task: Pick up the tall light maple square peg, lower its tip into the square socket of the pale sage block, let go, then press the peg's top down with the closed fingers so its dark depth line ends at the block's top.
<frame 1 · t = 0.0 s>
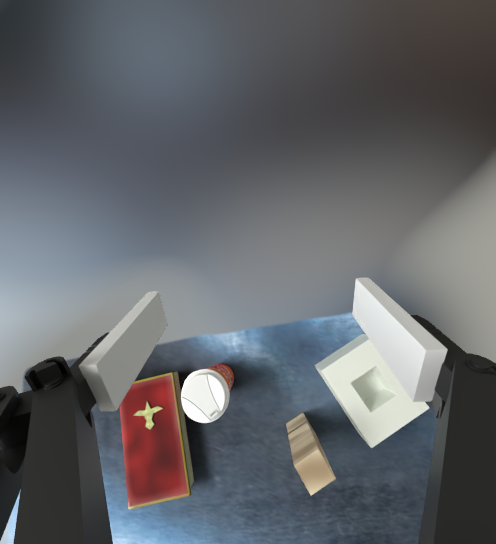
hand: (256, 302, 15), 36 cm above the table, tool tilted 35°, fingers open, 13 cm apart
hardcover book: (160, 428, 48), on the table
socket block: (360, 380, 46), on the table
paper cup: (221, 377, 48), on the table
maple peg: (300, 427, 45), on the table
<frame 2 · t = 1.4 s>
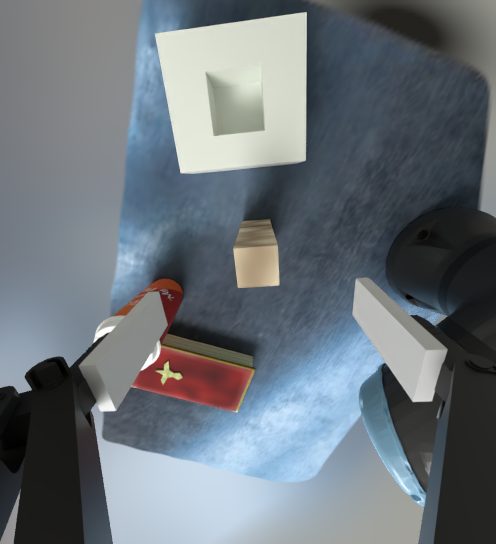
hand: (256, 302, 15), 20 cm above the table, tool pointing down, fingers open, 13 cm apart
hardcover book: (195, 362, 45), on the table
socket block: (240, 116, 29), on the table
paper cup: (167, 292, 39), on the table
maple peg: (256, 233, 34), on the table
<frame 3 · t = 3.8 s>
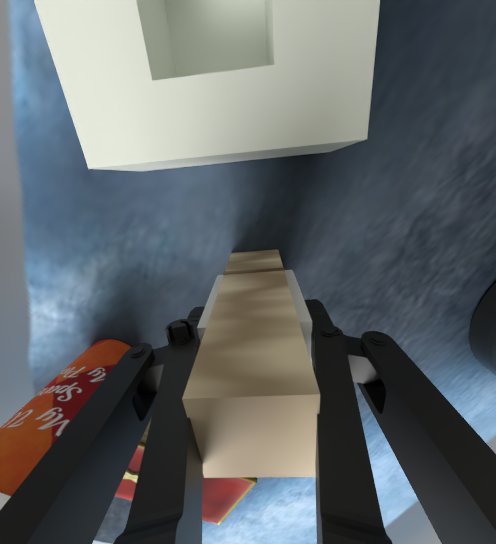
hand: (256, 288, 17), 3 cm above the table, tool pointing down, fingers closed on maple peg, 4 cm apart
hardcover book: (168, 445, 31), on the table
socket block: (222, 58, 15), on the table
paper cup: (116, 358, 25), on the table
maple peg: (256, 272, 20), on the table, touching gripper
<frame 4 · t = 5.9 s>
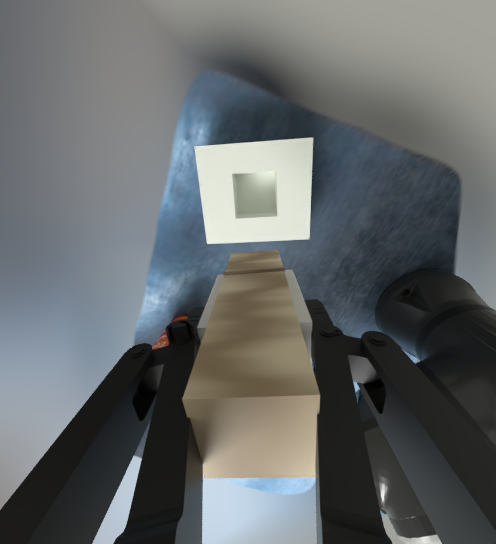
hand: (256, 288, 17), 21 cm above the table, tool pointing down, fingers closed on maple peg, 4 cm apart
socket block: (256, 193, 35), on the table
maple peg: (256, 273, 20), point 18 cm above the table, touching gripper
when the fingers open (8 cm above the table, at t = 8.3 s): maple peg drops 3 cm, resting on socket block.
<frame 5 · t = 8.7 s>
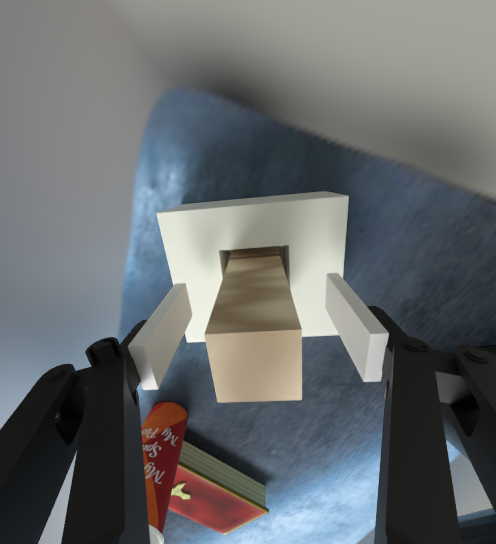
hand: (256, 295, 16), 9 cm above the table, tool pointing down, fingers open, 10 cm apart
hardcover book: (202, 470, 41), on the table
socket block: (256, 256, 24), on the table
paper cup: (169, 413, 35), on the table
maple peg: (256, 261, 23), point 1 cm above the table, touching socket block
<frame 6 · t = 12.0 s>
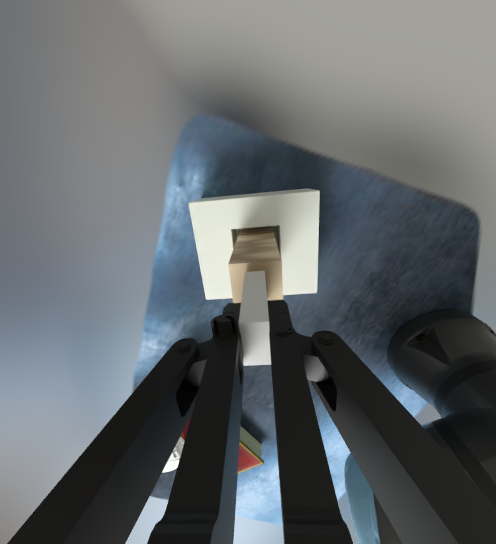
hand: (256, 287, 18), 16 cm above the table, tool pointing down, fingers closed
hardcover book: (211, 424, 49), on the table
socket block: (257, 238, 32), on the table
paper cup: (186, 370, 42), on the table
maple peg: (257, 240, 31), point 2 cm above the table, touching gripper, socket block
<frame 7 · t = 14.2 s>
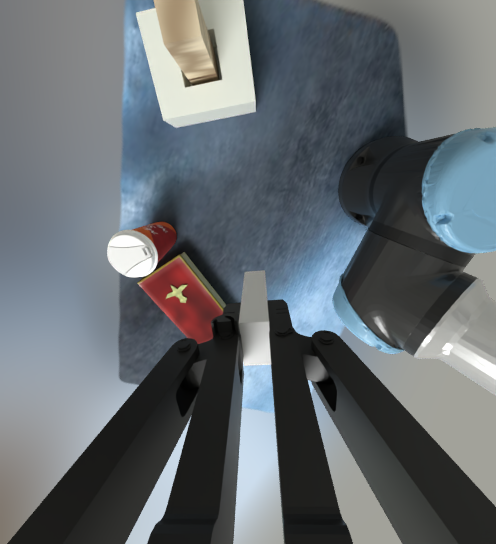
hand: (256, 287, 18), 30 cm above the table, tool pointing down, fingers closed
hardcover book: (194, 298, 54), on the table
socket block: (207, 76, 37), on the table
paper cup: (163, 234, 48), on the table
maple peg: (205, 72, 36), point 1 cm above the table, touching socket block
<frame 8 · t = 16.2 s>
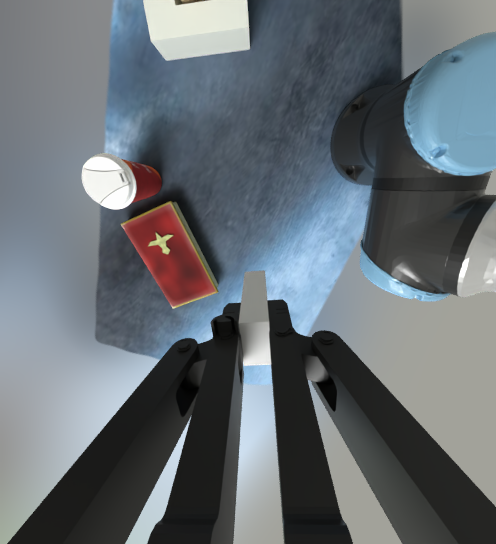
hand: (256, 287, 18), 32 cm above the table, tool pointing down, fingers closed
hardcover book: (177, 254, 52), on the table
socket block: (201, 5, 35), on the table
paper cup: (148, 181, 46), on the table
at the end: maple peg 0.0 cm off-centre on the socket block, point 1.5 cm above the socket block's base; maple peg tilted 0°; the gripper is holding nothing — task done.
